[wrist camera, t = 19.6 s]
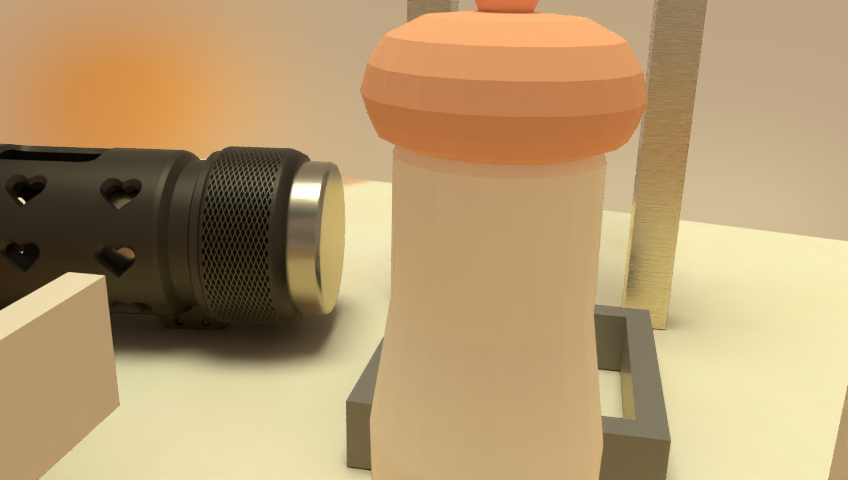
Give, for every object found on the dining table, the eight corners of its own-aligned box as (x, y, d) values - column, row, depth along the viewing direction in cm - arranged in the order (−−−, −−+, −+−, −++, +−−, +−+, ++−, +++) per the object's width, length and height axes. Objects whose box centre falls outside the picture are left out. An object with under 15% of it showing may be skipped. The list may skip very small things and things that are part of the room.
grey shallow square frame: (661, 509, 31) (670, 440, 30) (346, 466, 33) (346, 401, 32) (642, 362, 42) (649, 309, 41) (411, 338, 44) (412, 287, 43)
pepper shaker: (573, 542, 29) (625, -23, 23) (617, 722, 22) (709, -21, 16) (369, 537, 29) (367, -28, 23) (348, 715, 22) (338, -29, 16)
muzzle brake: (-87, 280, 51) (-118, 118, 48) (348, 300, 50) (346, 134, 46) (-209, 346, 42) (-258, 152, 39) (318, 373, 41) (314, 173, 37)
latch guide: (665, 329, 46) (738, -248, 37) (403, 303, 49) (410, -239, 40) (662, 313, 48) (730, -235, 39) (411, 289, 51) (420, -228, 42)
